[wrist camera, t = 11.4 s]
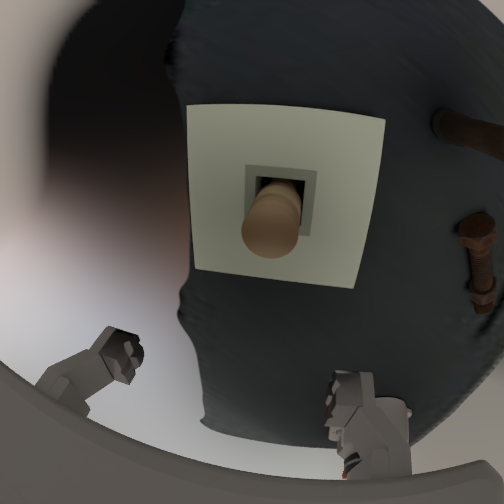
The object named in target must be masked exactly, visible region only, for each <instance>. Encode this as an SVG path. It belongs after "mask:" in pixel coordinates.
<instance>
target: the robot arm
mask: <svg viewBox="0 0 504 504" xmlns="http://www.w3.org/2000/svg"><path fill="white" fill-rule="evenodd" d="M139 341H140V339H139V337H138V335H136V334H133V333H130V332H126V331H123V330H120V329H117V328H114V327H111V326H108V327H106V328H105V329H104V331H103V332H102V333H101V334H100V336H99V337H98V338H97V340H96V341H95V342H94V344H93V345H92V346H91V348H90V349H89V350H87V349H86V350H84V351H81V352H79V353H77V354H75V355H73V356H71V357H69V358H67V359H65V360H62V361H60V362H58V363H56V364H54V365H52V366H50V367H48V368H47V370H46V371H45V372H44V374H43V375H42V376H41V378H40V379H39V381H38V382H37V383H36V385H35V386H34V385H32V384H31V383H29V382H28V381H26V380H25V379H24V378H22V377H21V376H20V375H18V374H17V373H15V372H14V371H13V370H11V369H10V368H9V367H8V366H6V365H5V364H4V363H3V362H2V361H0V504H504V483H503V479H502V477H501V476H500V474H499V473H498V472H497V471H496V470H495V469H494V468H493V467H492V466H491V465H490V464H489V463H488V462H487V461H485V460H477V461H474V462H470V463H467V464H463V465H459V466H455V467H451V468H446V469H442V470H437V471H432V472H427V473H421V474H414V475H412V469H411V468H412V467H411V452H410V445H409V444H408V441H409V430H408V418H409V417H410V416H411V415H412V410H410V409H408V408H407V407H406V405H405V403H404V402H403V401H402V400H400V399H397V398H392V397H380V398H375V391H374V382H373V374H372V373H371V372H358V371H339V370H335V371H334V372H333V374H332V381H330V382H329V384H328V387H327V391H326V400H325V403H326V405H327V406H328V407H327V409H326V411H325V420H324V426H328V427H329V435H328V437H329V439H330V440H333V441H337V454H338V455H340V456H341V457H342V458H343V459H344V471H343V475H342V476H343V479H345V478H347V480H318V479H301V478H290V477H280V476H271V475H264V474H258V473H252V472H246V471H240V470H235V469H230V468H225V467H221V466H217V465H212V464H208V463H204V462H200V461H197V460H193V459H190V458H186V457H182V456H180V455H176V454H173V453H170V452H167V451H164V450H161V449H158V448H156V447H153V446H150V445H147V444H145V443H142V442H140V441H137V440H134V439H132V438H130V437H127V436H125V435H122V434H120V433H118V432H116V431H113V430H111V429H109V428H107V427H105V426H103V425H101V424H99V423H97V422H95V421H93V420H91V419H89V418H87V415H88V413H89V411H90V408H89V406H88V405H87V403H86V402H85V401H84V400H86V399H87V398H89V397H90V396H92V395H93V394H95V393H96V392H98V391H99V390H101V389H102V388H104V387H105V386H107V385H108V384H110V383H111V382H113V381H114V380H116V381H119V382H122V383H125V384H128V385H130V383H131V381H132V379H133V378H134V376H135V369H136V368H138V367H140V366H141V364H142V362H143V358H144V350H143V347H142V346H141V345H140V344H139Z"/></svg>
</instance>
